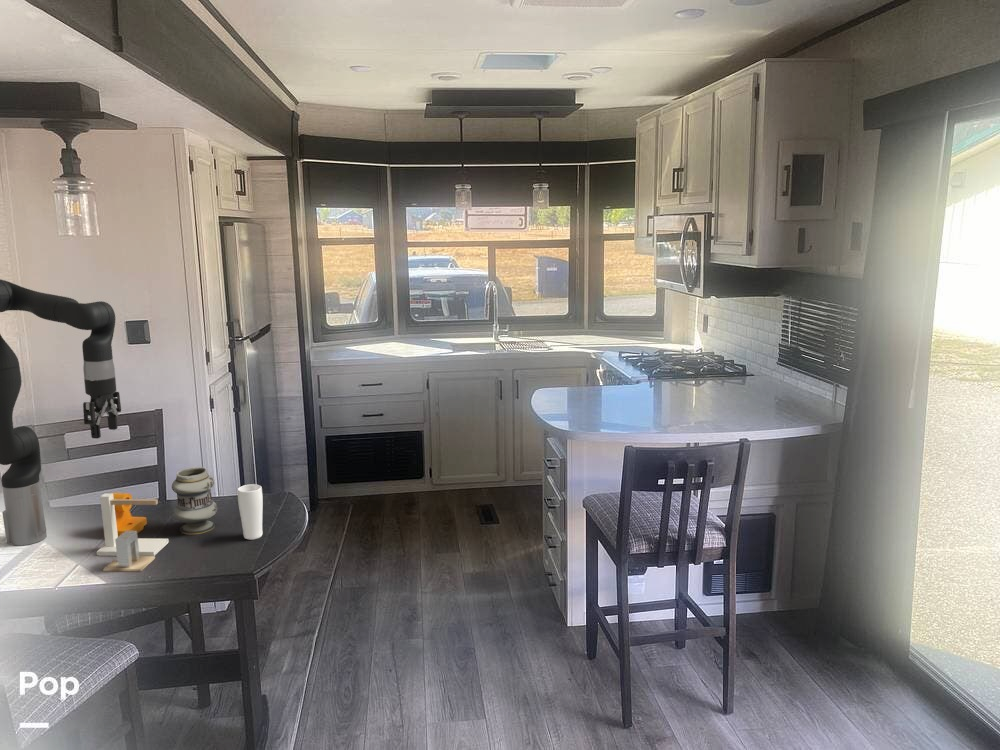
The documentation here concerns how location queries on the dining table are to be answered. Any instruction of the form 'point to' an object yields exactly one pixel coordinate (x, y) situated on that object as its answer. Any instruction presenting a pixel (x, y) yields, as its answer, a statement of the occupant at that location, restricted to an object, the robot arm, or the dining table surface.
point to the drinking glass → (251, 510)
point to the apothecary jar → (194, 500)
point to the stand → (110, 528)
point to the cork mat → (136, 565)
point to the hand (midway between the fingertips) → (104, 433)
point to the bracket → (127, 516)
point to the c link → (127, 548)
